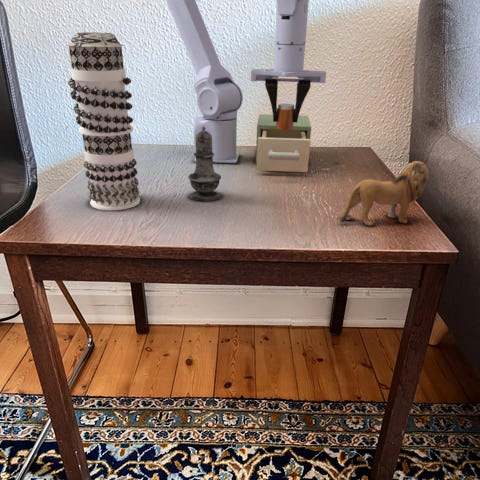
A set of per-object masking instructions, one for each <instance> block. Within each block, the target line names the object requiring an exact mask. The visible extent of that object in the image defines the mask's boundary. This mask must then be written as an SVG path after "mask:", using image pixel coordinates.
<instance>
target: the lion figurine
mask: <svg viewBox="0 0 480 480" xmlns="http://www.w3.org/2000/svg"><path fill="white" fill-rule="evenodd" d="M429 175H430V172H429V168H428V165H427V164H425V163H424V162H422V161H417V160H414V161H412V162H409V163H407V164H405V165H404V170H403V171H402V172H400V173H399V175H398V176H397V177H396V178H395V179H393V180H389V181H388V180H387V181H380V180H375V179H371V178H370V179H369V178H368V179H364V180H361V181H360V182H358V183H357V184H356V185H355V186H354V187H353V189H352V191H351V193H350V194H349V197H348V200H347V203H346V205H345V207H344V211H343V215H342V216H341V219H340V220H339V223H344V222H345V221H346V220H351V219H352V215H351V214H349V213H350V211H351V210H353V208H355V207H356V206H358V205H360V204H361V206H362V211H361V213H360V217H361V219H362V220H363V222H364V224H365V225H366V226H369V227H373V226H374V221H373V220H370V219H369V213H370V211H371V209H372V207H373V205H374V203H376V204H379V205H383V206H389V210H388V213H387V216H388V218H391V219H395V218H397V213H396V208H397V205H398V204H399V207H400V209H399V214H398V221H399V223H402V224H407V223H408V219H407V218H405V217H406V215H407V213H408V210H409V208H410V203H412V202H416V200H418V199H419V198H420V197H421V196H422V193H423V191H424V189H425V187H426V186H427V182H428V180H429V177H430V176H429Z"/></svg>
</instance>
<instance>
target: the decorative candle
mask: <svg viewBox="0 0 480 480" xmlns="http://www.w3.org/2000/svg"><path fill="white" fill-rule="evenodd" d="M66 46H67V47H68V51H69V59H70V64H71V65H70V66H71V68H70V74H71V77H70V79H69V80H68V81H67V84H68V86H69V88H71V89H72V91H70V97H71V99H72V100H75V102H76V103H75V104H74V106H73V111H74V113H75V114H76V115H77V116H76V117H75V123H76V124H77V125H79V128H78V133H79V134H81V136H82V142H83V148H84V149H83V156H84V157H83V158H84V160H85V161H83V167H84V169H85V168H86V169H87V170H86V171H85V172H84V173H85V177H86V178H88V179H89V180H87V182H86V188H87V189H88V190H89V191H88V198H89V199H90V202H89V204H90V206H91V207H92V208H95V209H97V210H101V211H121V210H128V209H131V208H134V207H136V206H137V205H139V204H140V202H141V197H140V196H139V195H140V189H139V187H138V186H139V185H140V182H139V179H138V178H137V177H136V175H138V170H137V168H135V167H136V165H137V164H138V163H137V160H136V158H135V154H134V152H135V151H134V148H133V144H132V135H131V133H132V132H133V131H134V127H133V125H131V124H132V123H133V122H134V119H133V117H131V116H130V115H129V111H130V110H131V109H133V104H131V103H130V102H129V101H128V100H130V99H131V98H132V97H133V95H132V93H131V92H129V91H128V90H126V87H128V85H130V84H131V83H132V80H131V78H130V77H128V76H127V73H126V68H125V65H124V57H123V48H122V47H124V44H123V45H122V44H121V43H120V41H119V40H118V38H117V36H116V35H115V34H114V33H111V32H90V31H89V32H76V33H75V32H74V34H73V35H72V37H71V40H70V42H69V43H68V44H67V45H66Z"/></svg>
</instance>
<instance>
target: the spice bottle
mask: <svg viewBox="0 0 480 480" xmlns="http://www.w3.org/2000/svg"><path fill="white" fill-rule="evenodd" d="M294 114H295V105H294V104H293V103H279V104H278V103H277V122H276V129H279V130H292V129H293V128H294Z"/></svg>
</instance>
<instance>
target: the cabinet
mask: <svg viewBox="0 0 480 480" xmlns="http://www.w3.org/2000/svg"><path fill="white" fill-rule="evenodd" d="M263 129H275V130H279V129H276V122H273V114H265V113H263V114H262V113H258V119H257V124H256V145H255V164H256V165H257V158H258V137H262V134H263ZM292 130H304V131H305V135H306V139H310V140H311V135H312V125H311V122H310V118H309V115H299V116H298V121H297V123H296V122H294V128H293V129H292Z"/></svg>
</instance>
